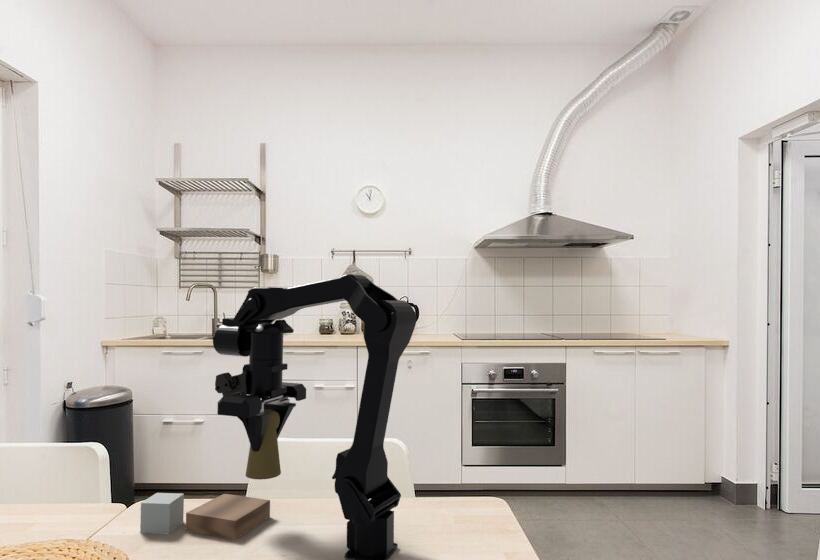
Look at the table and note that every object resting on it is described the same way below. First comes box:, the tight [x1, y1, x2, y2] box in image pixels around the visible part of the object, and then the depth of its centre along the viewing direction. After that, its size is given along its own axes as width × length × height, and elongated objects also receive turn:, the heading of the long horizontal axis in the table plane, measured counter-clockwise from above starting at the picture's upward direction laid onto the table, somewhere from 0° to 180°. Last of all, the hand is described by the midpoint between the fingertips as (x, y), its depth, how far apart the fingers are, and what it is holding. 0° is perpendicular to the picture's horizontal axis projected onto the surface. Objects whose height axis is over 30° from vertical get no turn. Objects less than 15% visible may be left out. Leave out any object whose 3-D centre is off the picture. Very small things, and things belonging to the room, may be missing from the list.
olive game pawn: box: [245, 410, 282, 481], centre depth 96 cm, size 6×6×11 cm
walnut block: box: [185, 493, 271, 540], centre depth 96 cm, size 10×10×3 cm
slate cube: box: [139, 492, 185, 535], centre depth 95 cm, size 5×5×5 cm
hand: (263, 447), depth 96 cm, fingers closed on olive game pawn, 4 cm apart
